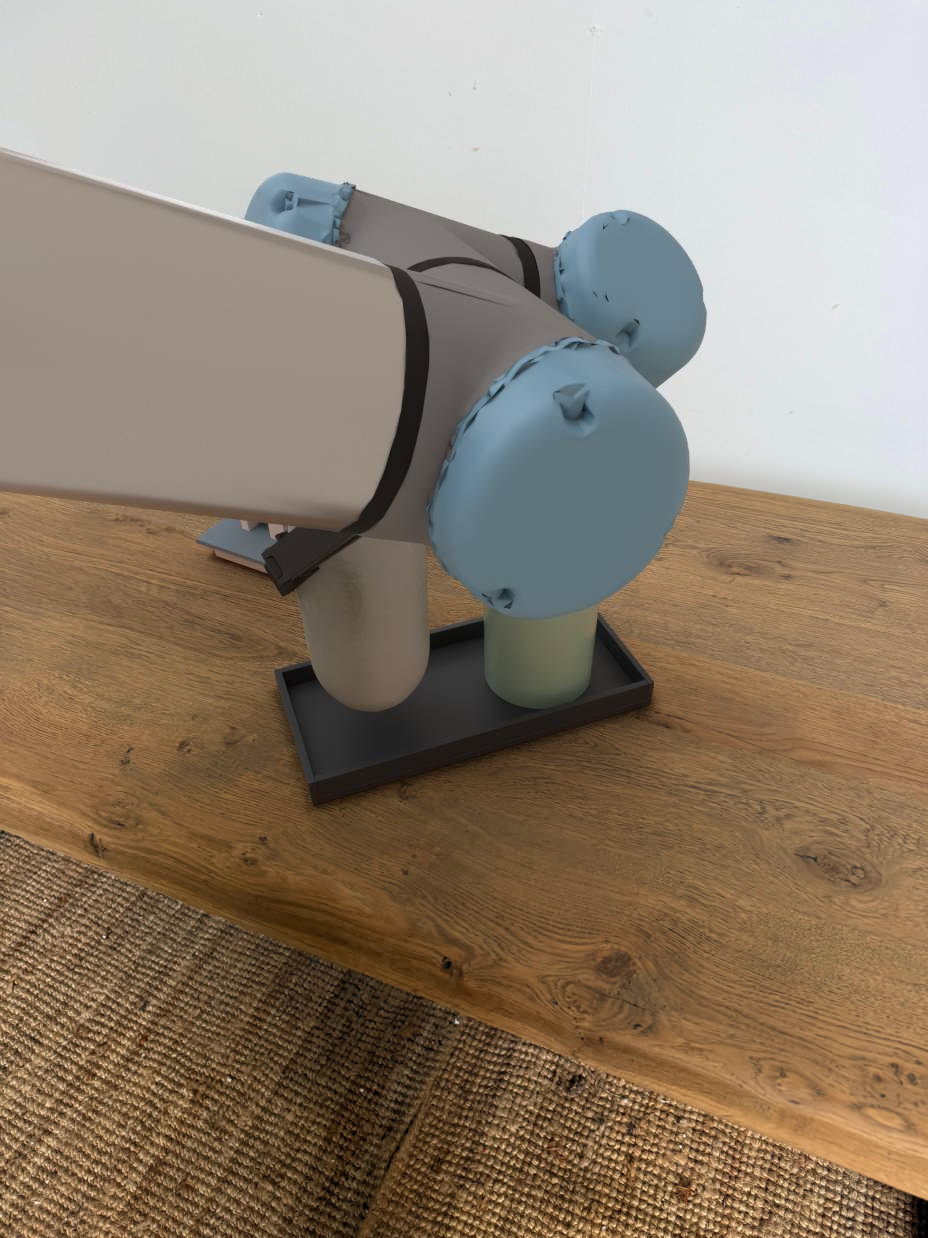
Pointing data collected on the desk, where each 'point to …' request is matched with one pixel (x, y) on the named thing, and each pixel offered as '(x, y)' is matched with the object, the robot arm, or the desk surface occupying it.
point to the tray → (441, 714)
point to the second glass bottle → (539, 657)
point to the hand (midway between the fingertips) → (336, 548)
